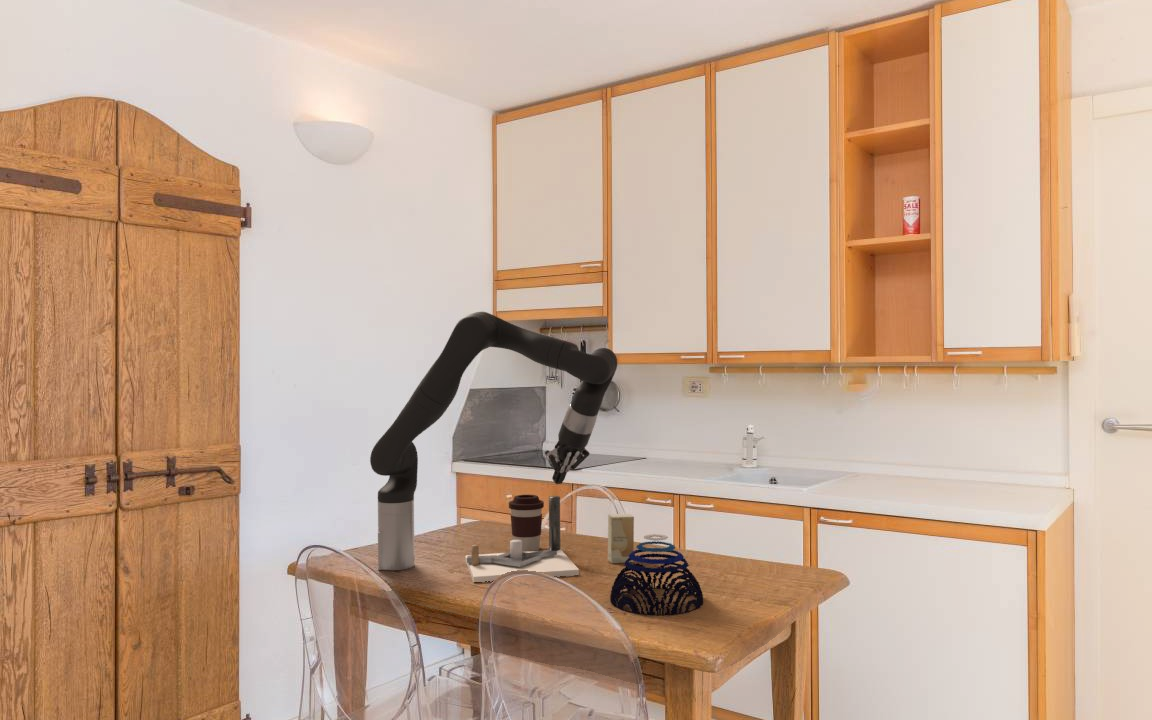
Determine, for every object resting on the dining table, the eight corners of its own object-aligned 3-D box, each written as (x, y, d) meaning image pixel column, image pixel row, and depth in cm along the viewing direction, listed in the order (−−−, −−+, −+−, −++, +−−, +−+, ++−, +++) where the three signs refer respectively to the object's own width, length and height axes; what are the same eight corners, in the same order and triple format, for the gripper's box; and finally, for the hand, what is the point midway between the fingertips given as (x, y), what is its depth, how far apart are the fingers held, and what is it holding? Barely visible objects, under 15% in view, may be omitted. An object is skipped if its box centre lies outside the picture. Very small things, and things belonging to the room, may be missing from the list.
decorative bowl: (591, 602, 177) (591, 537, 177) (650, 584, 191) (649, 523, 191) (662, 622, 163) (661, 551, 163) (720, 601, 177) (719, 536, 177)
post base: (473, 583, 193) (473, 553, 193) (465, 561, 214) (465, 534, 214) (578, 575, 198) (578, 547, 198) (560, 554, 220) (560, 529, 220)
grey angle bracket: (517, 570, 196) (516, 508, 196) (462, 562, 205) (462, 502, 205) (562, 553, 213) (562, 496, 213) (510, 546, 223) (510, 491, 223)
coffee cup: (528, 555, 220) (528, 500, 220) (501, 550, 226) (501, 497, 226) (551, 548, 228) (550, 495, 228) (524, 543, 234) (524, 492, 234)
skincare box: (611, 564, 210) (610, 517, 210) (607, 560, 214) (606, 514, 214) (634, 562, 211) (634, 516, 211) (630, 558, 215) (630, 513, 215)
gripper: (564, 435, 188) (543, 494, 195) (607, 431, 196) (585, 488, 203) (548, 417, 193) (527, 475, 200) (590, 414, 201) (569, 470, 208)
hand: (557, 482), depth 201 cm, fingers closed
